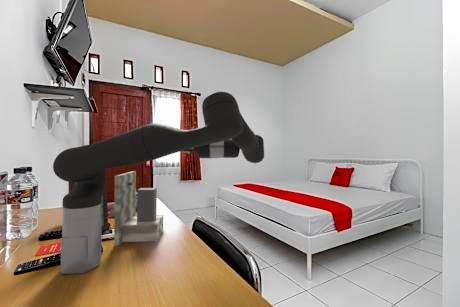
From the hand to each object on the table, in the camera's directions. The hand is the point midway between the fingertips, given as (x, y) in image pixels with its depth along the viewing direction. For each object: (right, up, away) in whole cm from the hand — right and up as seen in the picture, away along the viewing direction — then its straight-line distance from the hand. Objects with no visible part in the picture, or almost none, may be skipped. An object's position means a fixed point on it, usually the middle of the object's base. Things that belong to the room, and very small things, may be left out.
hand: (166, 147), depth 81 cm
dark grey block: (-9, -28, +5) cm, 30 cm away
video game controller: (-37, -34, +32) cm, 59 cm away
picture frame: (-34, -34, +5) cm, 48 cm away
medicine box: (-31, -34, +46) cm, 65 cm away
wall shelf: (-10, -34, +5) cm, 36 cm away
